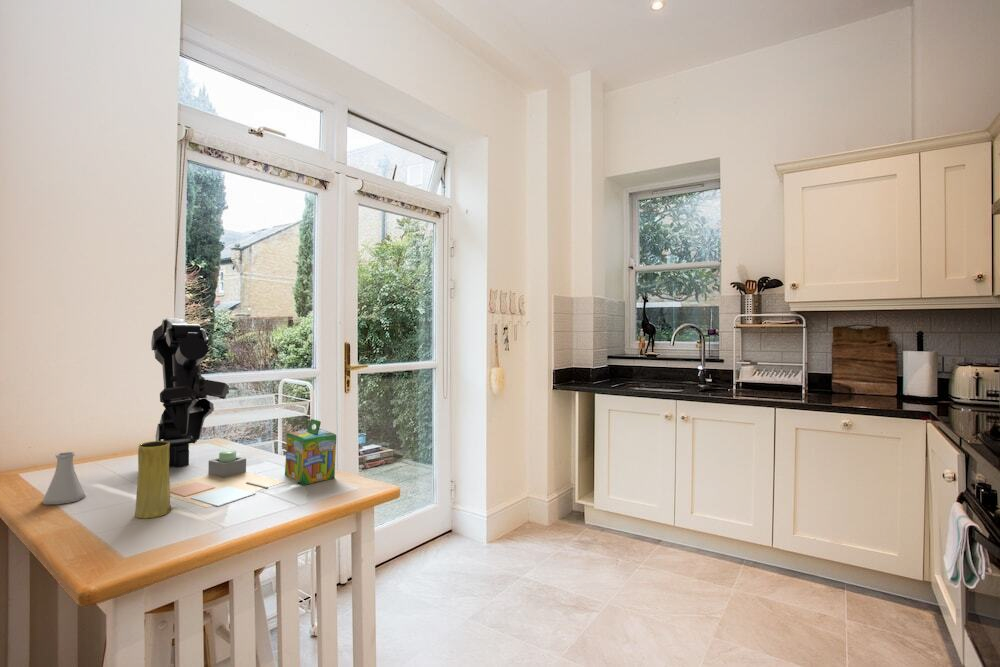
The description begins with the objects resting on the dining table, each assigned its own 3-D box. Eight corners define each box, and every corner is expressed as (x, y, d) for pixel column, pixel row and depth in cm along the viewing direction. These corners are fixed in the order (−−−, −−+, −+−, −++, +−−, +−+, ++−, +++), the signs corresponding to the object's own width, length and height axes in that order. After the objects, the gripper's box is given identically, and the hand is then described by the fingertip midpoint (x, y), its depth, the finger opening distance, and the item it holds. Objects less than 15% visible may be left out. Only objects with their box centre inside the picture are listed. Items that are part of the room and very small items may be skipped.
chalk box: (283, 477, 129) (285, 419, 129) (317, 470, 136) (318, 415, 136) (302, 486, 123) (303, 425, 123) (336, 478, 130) (337, 421, 130)
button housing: (208, 474, 127) (208, 460, 127) (230, 468, 133) (230, 455, 132) (224, 478, 125) (224, 464, 124) (245, 472, 130) (246, 458, 130)
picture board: (149, 493, 115) (149, 489, 115) (230, 471, 133) (230, 467, 133) (211, 512, 105) (211, 507, 105) (289, 485, 123) (289, 481, 123)
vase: (127, 515, 102) (128, 445, 102) (158, 505, 108) (159, 439, 108) (147, 521, 100) (149, 449, 100) (177, 510, 106) (179, 442, 105)
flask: (36, 507, 105) (37, 459, 104) (48, 496, 111) (48, 450, 111) (81, 503, 108) (81, 456, 108) (90, 492, 114) (90, 448, 114)
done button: (215, 466, 128) (215, 452, 128) (229, 463, 131) (229, 449, 131) (225, 469, 126) (225, 455, 126) (239, 465, 129) (239, 451, 129)
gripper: (213, 357, 116) (217, 424, 112) (233, 377, 133) (238, 436, 129) (157, 364, 113) (160, 434, 109) (185, 384, 130) (188, 444, 126)
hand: (190, 437), depth 118 cm, fingers open, 9 cm apart
